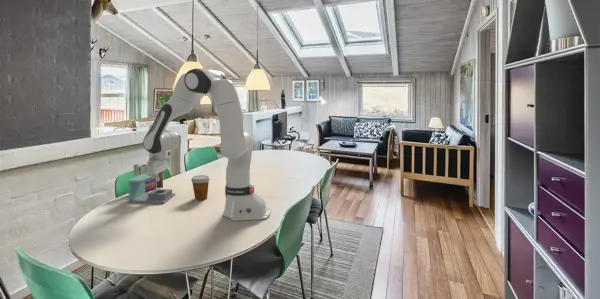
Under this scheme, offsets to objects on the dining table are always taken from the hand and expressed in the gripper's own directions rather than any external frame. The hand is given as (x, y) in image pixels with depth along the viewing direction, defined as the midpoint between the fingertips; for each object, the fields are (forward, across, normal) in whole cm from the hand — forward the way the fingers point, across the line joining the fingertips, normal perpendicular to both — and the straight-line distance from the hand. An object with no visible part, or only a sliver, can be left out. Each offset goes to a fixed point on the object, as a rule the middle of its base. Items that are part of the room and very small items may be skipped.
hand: (159, 180), depth 171 cm
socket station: (+11, 0, +4) cm, 11 cm away
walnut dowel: (+4, 0, 0) cm, 4 cm away
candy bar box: (+11, +14, +15) cm, 23 cm away
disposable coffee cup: (+11, +3, -21) cm, 24 cm away
